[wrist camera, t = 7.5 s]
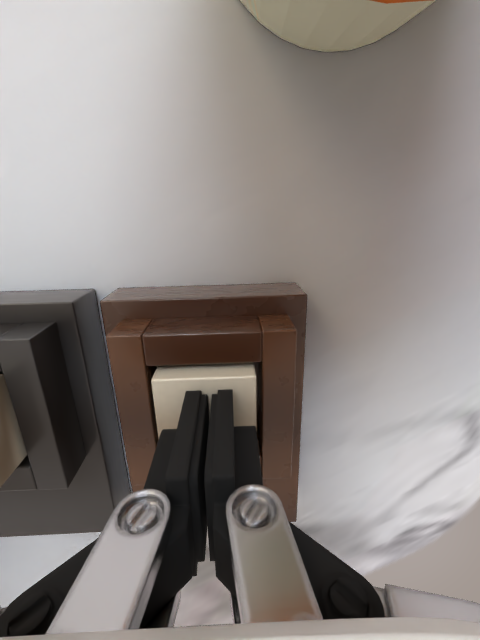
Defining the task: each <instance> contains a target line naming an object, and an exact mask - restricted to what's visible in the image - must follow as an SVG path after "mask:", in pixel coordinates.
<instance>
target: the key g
mask: <svg viewBox="0 0 480 640" xmlns="http://www.w3.org/2000/svg"><path fill="white" fill-rule="evenodd" d="M151 384H152V392H153V400H154V407H155V415H156V423H157V431H158V438H159V437H160V434H161V431H162V430H163V429H177V426H178V422H179V417H180V413H181V409H182V405H183V401H184V397H185V392H186V391H197V390H201V391H202V394H207V395H208V409H209V419H210V408H211V398H212V394H217V393H218V390H225V389H233V414H234V426H256V432H257V409H256V372H255V367H254V362H247V363H220V364H193V365H166V366H157V369H156V371H155V373H154V375H153V378H152V380H151Z"/></svg>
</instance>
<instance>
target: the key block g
mask: <svg viewBox="0 0 480 640" xmlns="http://www.w3.org/2000/svg"><path fill="white" fill-rule="evenodd" d="M100 305H101V311H102V317H103V323H104V329H105V334H106V341H107V347H108V353H109V358H110V364H111V370H112V376H113V381H114V387H115V393H116V399H117V405H118V410H119V416H120V422H121V428H122V434H123V439H124V445H125V451H126V457H127V462H128V468H129V474H130V480H131V485H132V491H133V493H134V492H136V491H139V490H143V489H144V486H145V482H146V479H147V476H148V473H149V469H150V466H151V463H152V460H153V456H154V453H155V450H156V447H157V443H158V440H159V438H158V431H157V423H156V415H155V407H154V400H153V392H152V384H151V380H152V378H153V375H154V373H155V371H156V369H157V366H166V365H193V364H220V363H247V362H254V367H255V372H256V409H257V440H258V448H259V456H260V464H261V472H262V480H263V486H265V487H267V488H269V489H271V490H273V491H274V492H275V493H276V494H277V495H278V497H279V499H280V500H281V502H282V505H283V508H284V511H285V513H286V516H287V519H288V521H289V522H296V516H297V495H298V475H299V454H300V434H301V413H302V393H303V372H304V352H305V331H306V311H307V294H306V293H305V292H304V291H303V290H302V289H301V288H300V287H299V286H298V285H297V284H296V283H270V284H237V285H204V286H171V287H137V288H118V289H116V290H115V291H114V292H112V293H111V294H109V295H108V296H107V297H105V298H104V299H103V300H101V301H100ZM207 526H208V524H207Z"/></svg>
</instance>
